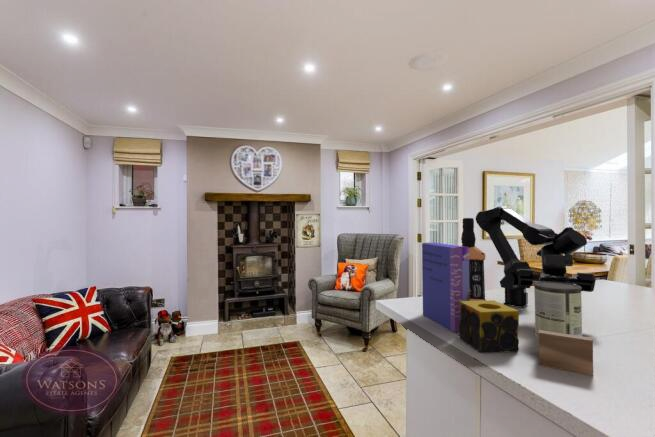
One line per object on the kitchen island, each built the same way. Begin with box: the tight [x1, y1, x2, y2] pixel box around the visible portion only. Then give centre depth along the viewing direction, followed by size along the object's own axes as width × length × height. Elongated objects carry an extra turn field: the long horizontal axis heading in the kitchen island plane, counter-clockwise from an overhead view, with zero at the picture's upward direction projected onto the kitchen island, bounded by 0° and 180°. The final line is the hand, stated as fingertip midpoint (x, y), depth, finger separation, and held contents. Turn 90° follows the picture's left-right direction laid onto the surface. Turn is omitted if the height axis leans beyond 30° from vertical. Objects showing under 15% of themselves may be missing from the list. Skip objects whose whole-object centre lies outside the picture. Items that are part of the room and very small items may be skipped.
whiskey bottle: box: [460, 217, 487, 301], centre depth 114 cm, size 10×10×32 cm
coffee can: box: [533, 281, 583, 338], centre depth 84 cm, size 10×10×14 cm
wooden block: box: [537, 330, 594, 376], centre depth 70 cm, size 8×9×7 cm
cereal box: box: [421, 242, 470, 334], centre depth 97 cm, size 17×5×24 cm, turn 12°
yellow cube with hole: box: [458, 299, 520, 354], centre depth 80 cm, size 10×10×10 cm
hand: (556, 304), depth 91 cm, fingers closed
